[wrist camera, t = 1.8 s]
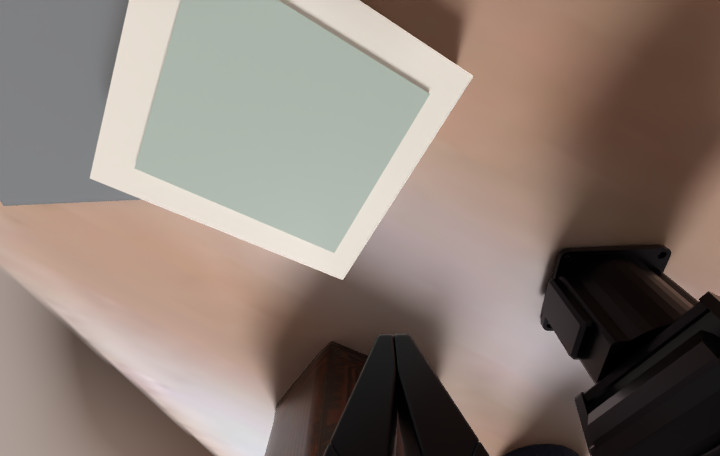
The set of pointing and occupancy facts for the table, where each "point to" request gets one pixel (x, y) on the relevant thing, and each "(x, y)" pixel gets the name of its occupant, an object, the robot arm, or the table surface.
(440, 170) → the table surface
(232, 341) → the table surface
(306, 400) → the coffee grinder
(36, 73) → the mat
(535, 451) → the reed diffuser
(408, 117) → the picture frame
